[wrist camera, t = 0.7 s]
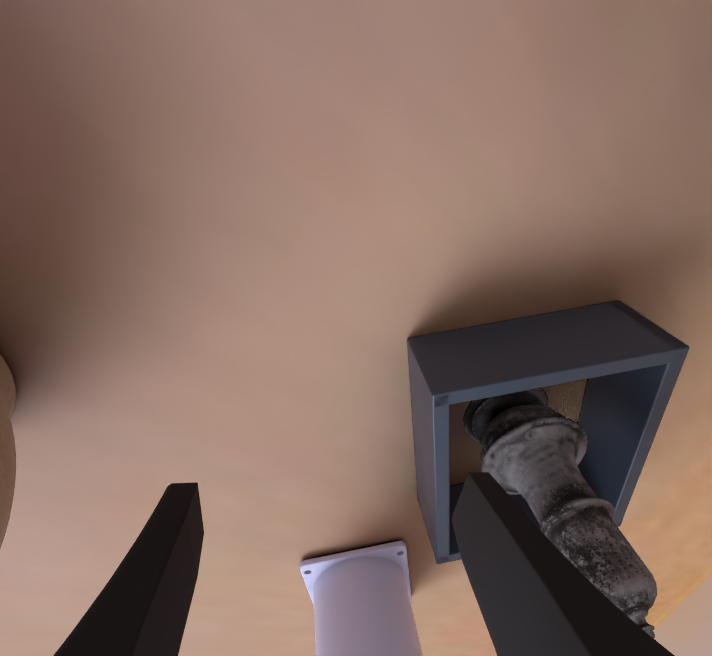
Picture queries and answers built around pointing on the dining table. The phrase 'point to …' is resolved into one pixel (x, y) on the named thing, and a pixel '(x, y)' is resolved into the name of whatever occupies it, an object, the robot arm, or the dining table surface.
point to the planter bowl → (6, 446)
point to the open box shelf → (535, 370)
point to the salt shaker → (560, 493)
